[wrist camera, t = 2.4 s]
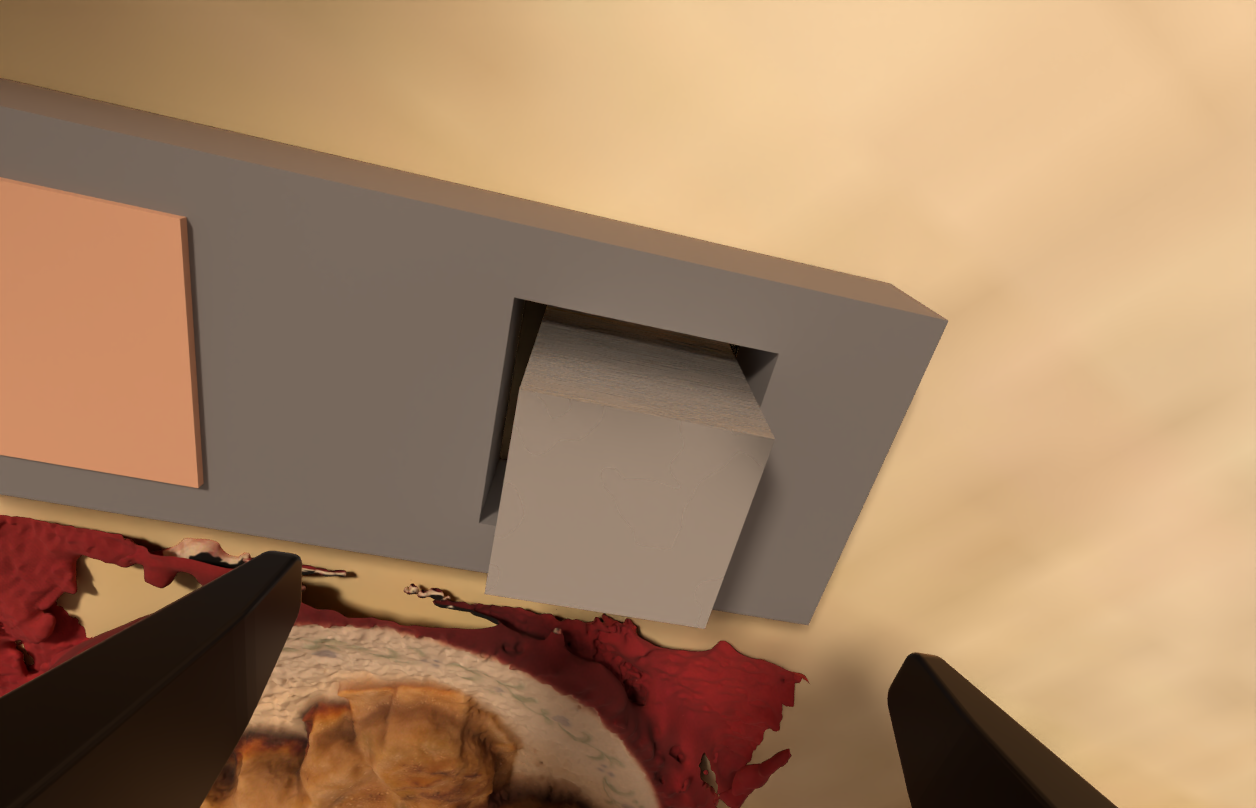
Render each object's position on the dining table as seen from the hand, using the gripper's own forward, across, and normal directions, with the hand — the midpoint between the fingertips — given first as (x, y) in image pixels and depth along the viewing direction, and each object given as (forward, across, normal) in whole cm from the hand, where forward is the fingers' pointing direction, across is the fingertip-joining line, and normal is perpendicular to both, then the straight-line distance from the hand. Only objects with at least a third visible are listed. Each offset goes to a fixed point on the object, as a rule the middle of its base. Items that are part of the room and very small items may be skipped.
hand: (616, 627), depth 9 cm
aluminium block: (+8, 0, 0) cm, 9 cm away
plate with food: (+9, +5, +19) cm, 22 cm away
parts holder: (+8, +6, 0) cm, 10 cm away
